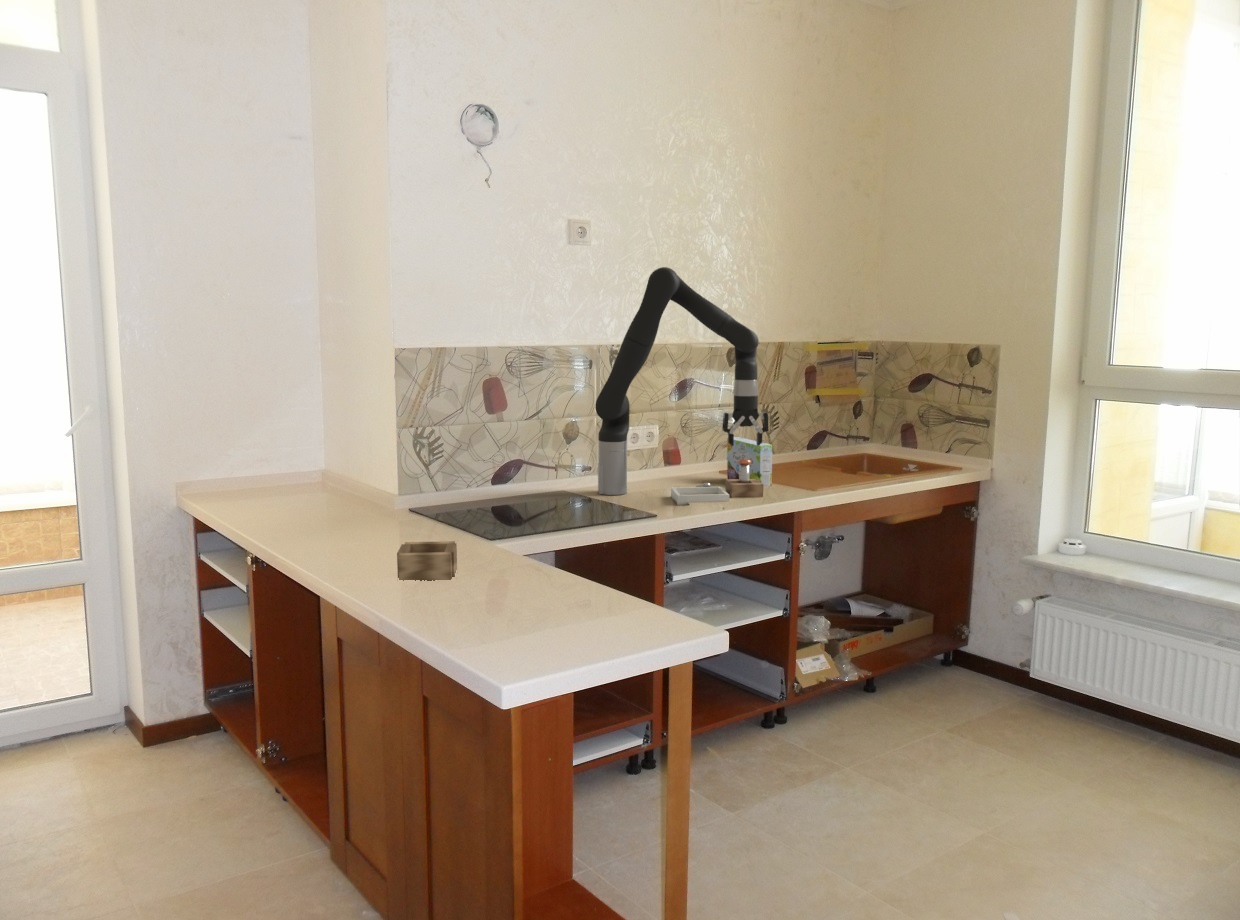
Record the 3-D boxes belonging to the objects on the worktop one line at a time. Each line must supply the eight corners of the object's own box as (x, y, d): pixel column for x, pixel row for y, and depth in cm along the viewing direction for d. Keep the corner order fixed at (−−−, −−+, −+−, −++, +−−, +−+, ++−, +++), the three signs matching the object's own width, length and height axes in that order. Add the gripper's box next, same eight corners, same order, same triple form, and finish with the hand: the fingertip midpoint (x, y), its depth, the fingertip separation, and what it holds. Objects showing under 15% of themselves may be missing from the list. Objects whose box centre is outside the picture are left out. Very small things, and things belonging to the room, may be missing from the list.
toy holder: (396, 587, 204) (395, 555, 203) (404, 572, 216) (403, 542, 215) (453, 586, 205) (452, 554, 204) (457, 571, 217) (457, 541, 216)
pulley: (697, 496, 307) (697, 485, 306) (693, 492, 314) (694, 481, 313) (719, 496, 307) (719, 485, 307) (715, 492, 314) (715, 481, 314)
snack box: (725, 479, 338) (726, 437, 336) (739, 478, 341) (740, 436, 338) (758, 489, 319) (759, 444, 317) (772, 488, 322) (774, 443, 319)
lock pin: (739, 495, 303) (739, 461, 302) (736, 493, 307) (737, 459, 306) (751, 495, 304) (752, 460, 302) (748, 492, 308) (749, 458, 306)
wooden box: (731, 500, 300) (731, 484, 299) (725, 494, 310) (725, 479, 309) (763, 500, 301) (763, 484, 300) (755, 494, 311) (756, 478, 310)
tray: (677, 505, 293) (677, 495, 292) (670, 496, 306) (671, 487, 306) (729, 504, 294) (729, 494, 294) (720, 495, 308) (720, 486, 307)
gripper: (725, 395, 296) (725, 447, 299) (771, 394, 297) (770, 446, 300) (721, 393, 304) (720, 444, 306) (765, 392, 305) (764, 443, 307)
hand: (745, 445), depth 303 cm, fingers open, 8 cm apart
